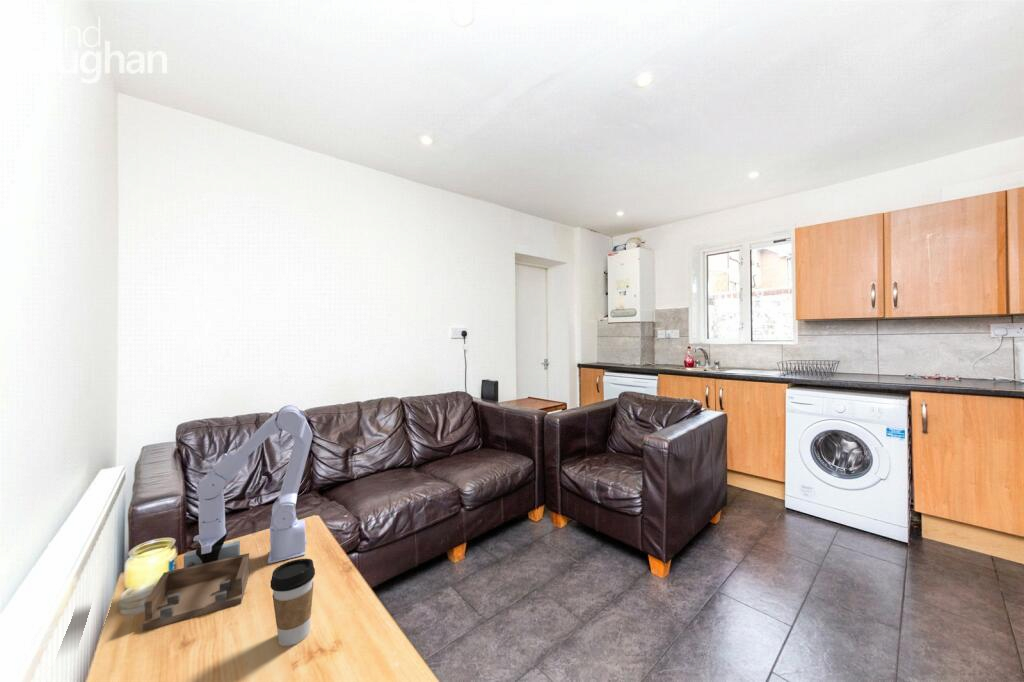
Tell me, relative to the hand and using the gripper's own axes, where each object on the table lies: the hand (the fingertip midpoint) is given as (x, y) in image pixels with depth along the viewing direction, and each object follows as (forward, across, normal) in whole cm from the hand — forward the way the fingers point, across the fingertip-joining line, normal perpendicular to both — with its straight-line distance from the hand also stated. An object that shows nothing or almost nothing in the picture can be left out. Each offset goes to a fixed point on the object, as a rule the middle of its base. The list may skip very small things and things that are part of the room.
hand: (213, 566), depth 105 cm
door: (+2, 0, 0) cm, 2 cm away
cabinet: (+2, +12, 0) cm, 12 cm away
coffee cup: (+2, +37, +21) cm, 43 cm away
